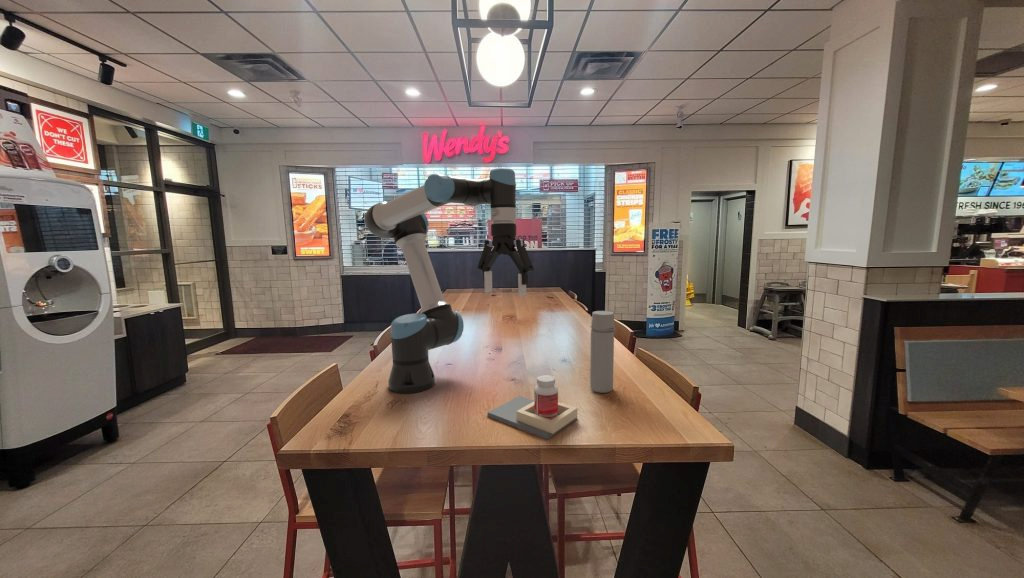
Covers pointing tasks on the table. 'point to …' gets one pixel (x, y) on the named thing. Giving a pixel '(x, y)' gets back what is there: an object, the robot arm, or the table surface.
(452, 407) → the table surface
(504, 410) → the socket board
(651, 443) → the table surface
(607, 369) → the water bottle
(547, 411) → the pill bottle
